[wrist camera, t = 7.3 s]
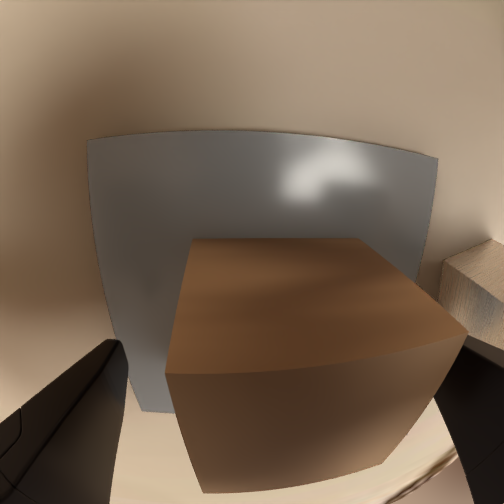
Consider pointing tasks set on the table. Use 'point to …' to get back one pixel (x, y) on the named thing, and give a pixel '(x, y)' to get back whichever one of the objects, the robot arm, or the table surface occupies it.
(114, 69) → the table surface
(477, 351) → the robot arm
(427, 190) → the slate coaster
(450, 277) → the light wood block
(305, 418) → the walnut block
